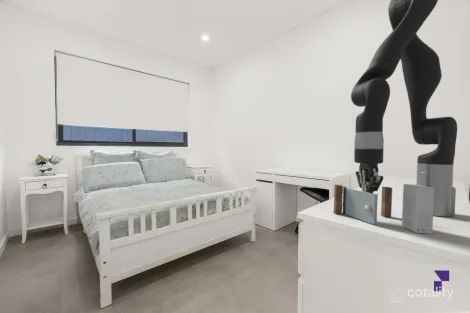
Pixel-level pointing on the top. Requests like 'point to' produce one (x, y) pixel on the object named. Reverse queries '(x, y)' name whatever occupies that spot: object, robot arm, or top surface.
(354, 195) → the door
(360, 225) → the top surface
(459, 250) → the top surface
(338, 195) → the door frame
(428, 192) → the skincare box
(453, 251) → the top surface
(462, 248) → the top surface
